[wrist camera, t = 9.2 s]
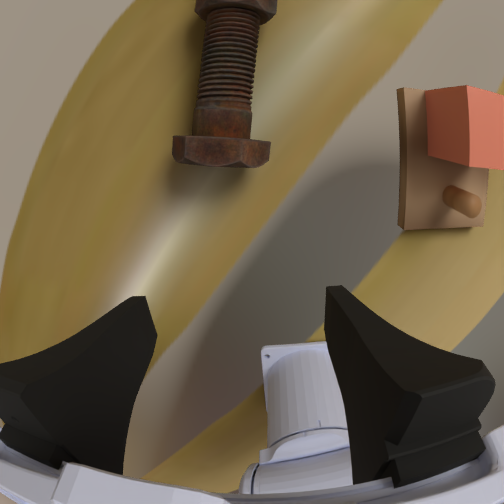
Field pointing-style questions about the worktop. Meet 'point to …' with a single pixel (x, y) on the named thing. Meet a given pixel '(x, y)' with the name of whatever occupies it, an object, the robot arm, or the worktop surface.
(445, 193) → the stub block
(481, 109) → the salmon cube
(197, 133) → the bolt
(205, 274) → the worktop surface
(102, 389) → the robot arm
